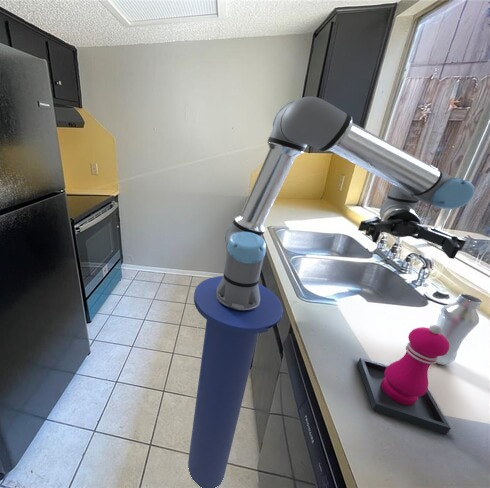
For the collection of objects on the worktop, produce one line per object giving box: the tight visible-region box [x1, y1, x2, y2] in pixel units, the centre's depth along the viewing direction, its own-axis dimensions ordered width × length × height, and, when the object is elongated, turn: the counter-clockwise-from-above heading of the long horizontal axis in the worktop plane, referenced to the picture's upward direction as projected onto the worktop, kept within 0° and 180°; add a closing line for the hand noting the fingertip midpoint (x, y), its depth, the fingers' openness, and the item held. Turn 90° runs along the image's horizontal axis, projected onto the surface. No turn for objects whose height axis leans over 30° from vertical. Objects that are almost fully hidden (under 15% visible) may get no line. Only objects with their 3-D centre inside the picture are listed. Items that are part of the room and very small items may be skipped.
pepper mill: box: [381, 324, 449, 405], centre depth 56 cm, size 7×7×20 cm
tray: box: [356, 357, 452, 435], centre depth 60 cm, size 14×13×2 cm
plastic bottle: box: [435, 293, 483, 366], centre depth 67 cm, size 6×7×20 cm
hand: (413, 244), depth 59 cm, fingers open, 13 cm apart
